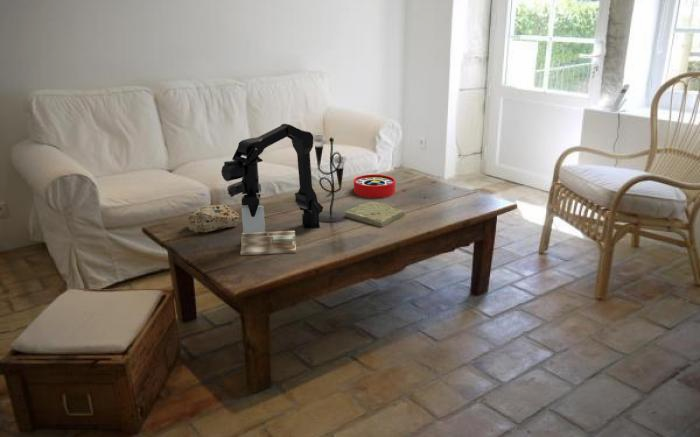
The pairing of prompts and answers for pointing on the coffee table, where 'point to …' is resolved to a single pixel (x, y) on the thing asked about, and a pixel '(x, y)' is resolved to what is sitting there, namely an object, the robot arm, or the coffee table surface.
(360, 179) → the toy clock
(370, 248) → the coffee table surface
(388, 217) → the decorative tile
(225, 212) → the rock
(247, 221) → the sheet
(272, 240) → the offcut stack
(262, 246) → the rack
